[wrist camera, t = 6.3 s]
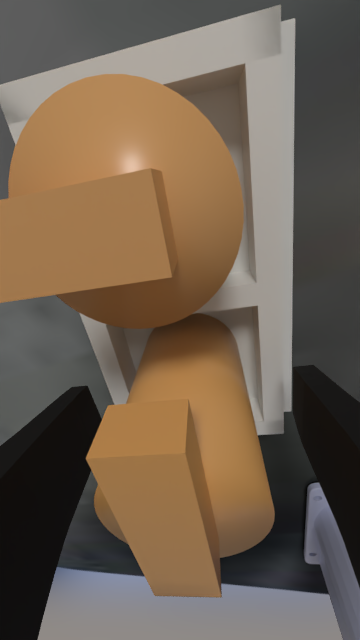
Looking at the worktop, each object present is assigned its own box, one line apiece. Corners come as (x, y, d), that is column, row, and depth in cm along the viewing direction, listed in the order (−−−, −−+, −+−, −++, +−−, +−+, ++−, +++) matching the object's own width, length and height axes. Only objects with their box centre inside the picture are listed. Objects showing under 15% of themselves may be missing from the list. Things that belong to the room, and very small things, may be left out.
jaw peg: (241, 385, 12) (288, 619, 6) (157, 392, 13) (110, 613, 6) (230, 272, 10) (288, 447, 3) (127, 287, 10) (2, 463, 4)
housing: (284, 393, 14) (354, 575, 7) (129, 405, 15) (74, 569, 9) (282, 40, 8) (634, -591, 1) (25, 108, 9) (-395, -68, 3)
